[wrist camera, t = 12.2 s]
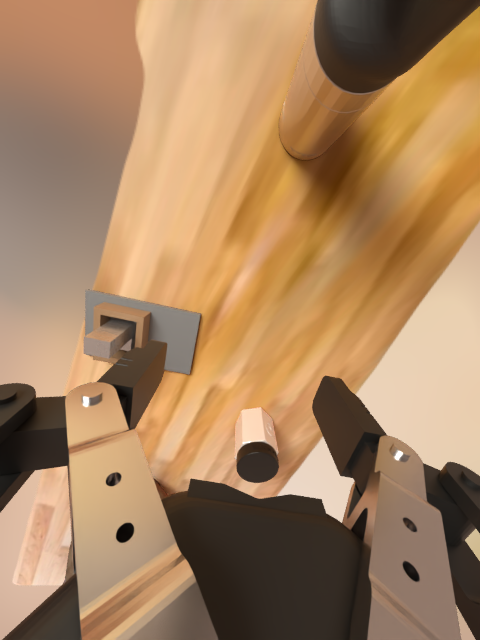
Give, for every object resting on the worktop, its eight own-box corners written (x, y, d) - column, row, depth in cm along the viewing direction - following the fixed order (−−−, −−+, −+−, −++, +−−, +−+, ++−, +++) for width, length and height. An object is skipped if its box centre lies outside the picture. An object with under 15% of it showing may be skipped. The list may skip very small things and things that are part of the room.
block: (117, 316, 44) (83, 336, 35) (137, 320, 44) (110, 342, 35) (115, 343, 46) (83, 369, 37) (134, 347, 46) (108, 374, 37)
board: (88, 289, 43) (72, 294, 39) (201, 313, 45) (197, 320, 41) (87, 352, 48) (74, 362, 44) (190, 372, 49) (186, 383, 45)
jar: (278, 423, 54) (288, 471, 43) (252, 439, 56) (255, 490, 45) (255, 400, 52) (260, 444, 41) (229, 418, 54) (226, 465, 42)
